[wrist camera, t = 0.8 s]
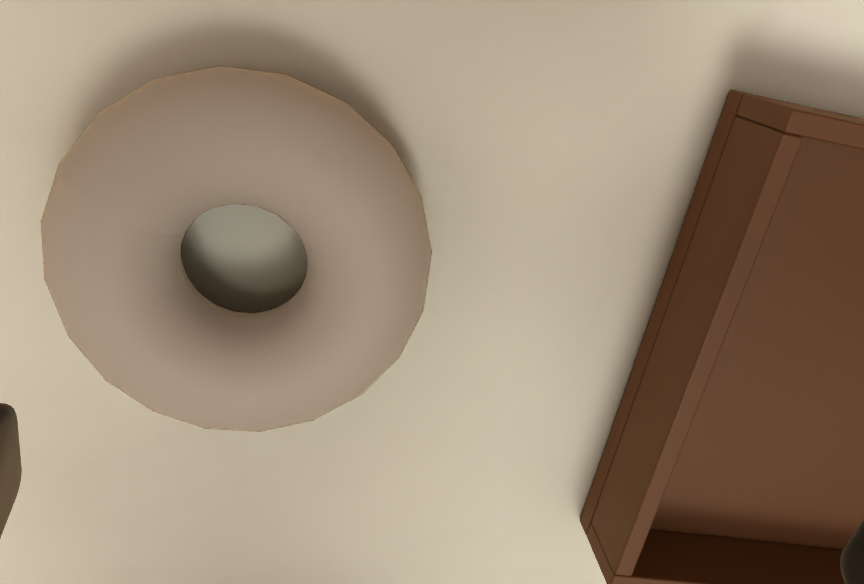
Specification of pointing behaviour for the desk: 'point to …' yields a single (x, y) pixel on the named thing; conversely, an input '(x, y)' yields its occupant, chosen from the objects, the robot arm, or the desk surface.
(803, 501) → the tray
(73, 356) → the desk surface
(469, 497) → the desk surface
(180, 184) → the donut
